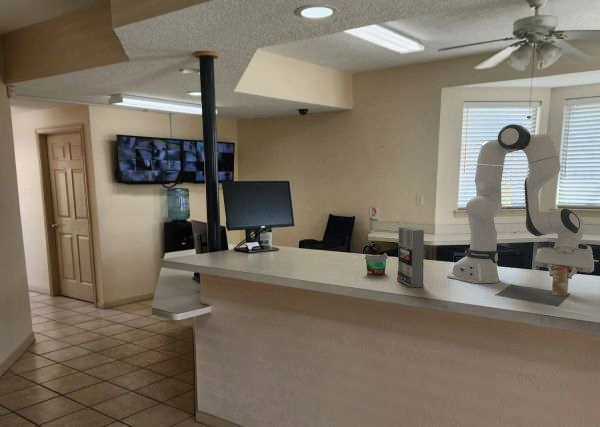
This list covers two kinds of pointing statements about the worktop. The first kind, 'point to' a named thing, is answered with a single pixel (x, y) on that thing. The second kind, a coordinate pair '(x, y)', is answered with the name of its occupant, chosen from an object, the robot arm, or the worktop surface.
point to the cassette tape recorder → (410, 256)
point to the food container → (376, 264)
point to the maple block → (560, 280)
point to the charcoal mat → (532, 295)
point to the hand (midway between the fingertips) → (560, 276)
